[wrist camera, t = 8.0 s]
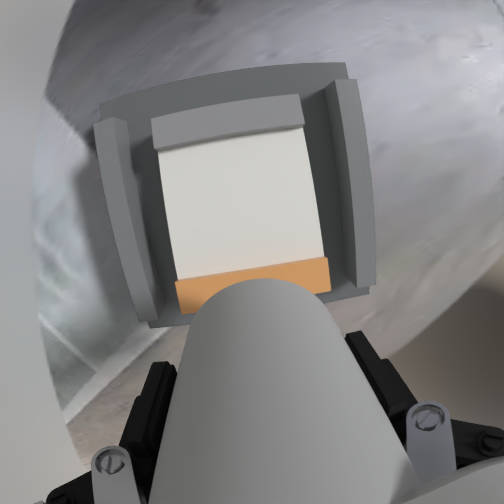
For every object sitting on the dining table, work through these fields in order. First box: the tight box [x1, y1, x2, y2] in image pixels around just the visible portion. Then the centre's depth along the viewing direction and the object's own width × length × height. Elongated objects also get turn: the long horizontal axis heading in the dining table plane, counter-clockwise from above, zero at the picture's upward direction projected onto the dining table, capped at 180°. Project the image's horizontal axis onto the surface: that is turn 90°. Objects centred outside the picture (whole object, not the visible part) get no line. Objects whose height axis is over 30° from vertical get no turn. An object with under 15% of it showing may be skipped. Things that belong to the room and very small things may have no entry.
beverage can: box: [148, 278, 422, 504], centre depth 8 cm, size 6×6×12 cm
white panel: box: [151, 94, 331, 314], centre depth 18 cm, size 12×9×2 cm
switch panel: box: [93, 63, 376, 328], centre depth 21 cm, size 18×18×6 cm
